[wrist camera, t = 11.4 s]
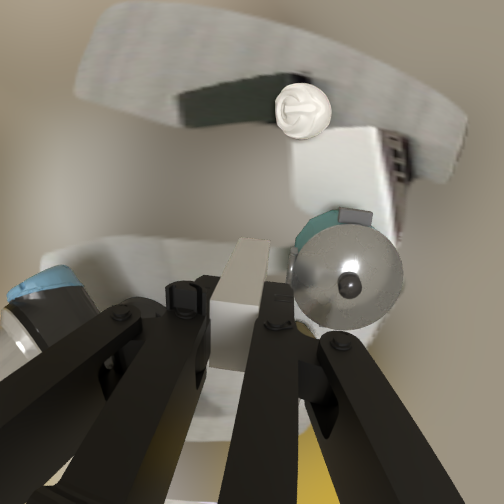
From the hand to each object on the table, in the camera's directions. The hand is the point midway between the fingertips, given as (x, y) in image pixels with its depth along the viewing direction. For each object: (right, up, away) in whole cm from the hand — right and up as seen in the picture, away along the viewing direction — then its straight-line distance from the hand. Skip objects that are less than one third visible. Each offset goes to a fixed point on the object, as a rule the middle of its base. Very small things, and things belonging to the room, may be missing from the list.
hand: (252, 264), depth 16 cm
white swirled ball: (+7, +21, +27) cm, 35 cm away
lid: (+12, -3, +24) cm, 27 cm away
